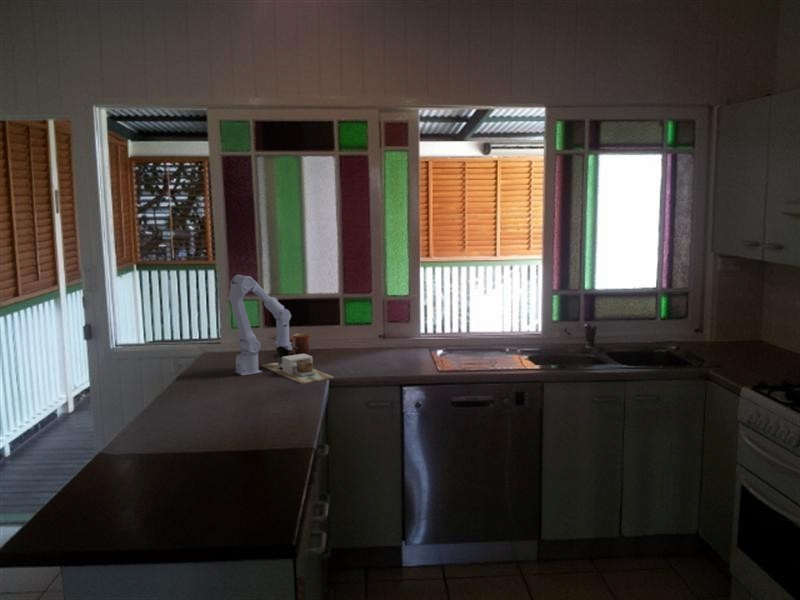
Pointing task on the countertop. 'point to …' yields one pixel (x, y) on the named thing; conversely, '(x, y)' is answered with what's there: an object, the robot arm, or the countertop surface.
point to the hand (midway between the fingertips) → (283, 362)
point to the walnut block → (304, 366)
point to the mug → (301, 343)
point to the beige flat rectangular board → (298, 378)
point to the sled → (295, 368)
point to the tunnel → (289, 359)
